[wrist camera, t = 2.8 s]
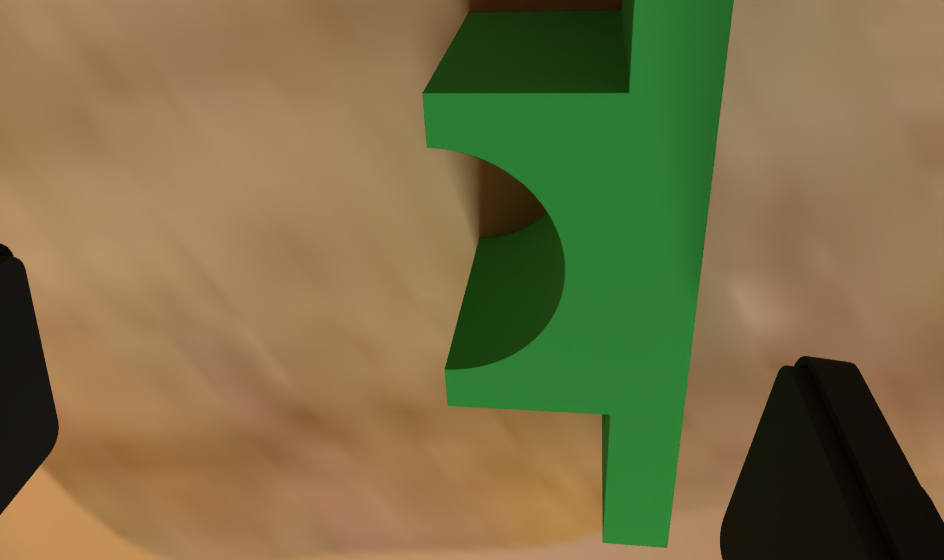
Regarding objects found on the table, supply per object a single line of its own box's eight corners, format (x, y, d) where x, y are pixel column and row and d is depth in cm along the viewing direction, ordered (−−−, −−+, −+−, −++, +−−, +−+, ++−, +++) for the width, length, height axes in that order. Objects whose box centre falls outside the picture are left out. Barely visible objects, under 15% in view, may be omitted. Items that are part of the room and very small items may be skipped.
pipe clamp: (461, -187, 12) (399, -180, 9) (706, -199, 12) (760, -198, 8) (485, 379, 18) (456, 537, 14) (653, 387, 18) (669, 554, 14)
